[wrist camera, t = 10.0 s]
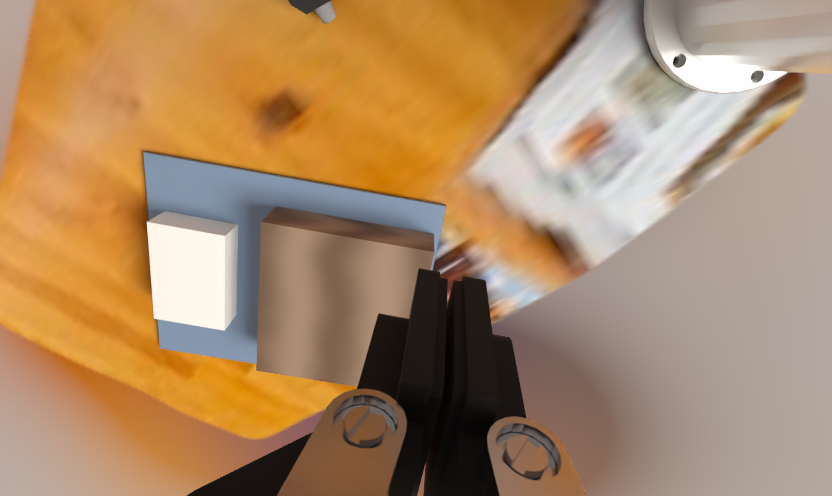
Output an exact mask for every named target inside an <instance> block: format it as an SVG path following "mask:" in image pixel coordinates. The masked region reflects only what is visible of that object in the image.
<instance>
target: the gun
mask: <svg viewBox="0 0 832 496" xmlns="http://www.w3.org/2000/svg"><path fill="white" fill-rule="evenodd" d="M289 2H290V4H291V5H292V6H294V7H295V8H297V9H299V10H300V11H302V12H304V13H305V14H308V13H310V12H312V11H313V10H314V11H315V12H316V14H317V15H318V16H319V18H320V19H321V20H322V22H323V23H324V24H326V23H329V22H331V21H332V20H334V19H335V17H336V13H335V11H334V8H333V6H332V4H331V0H289Z"/></svg>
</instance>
